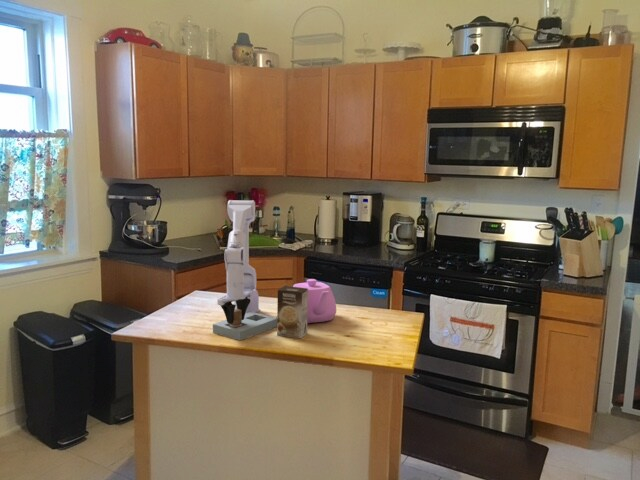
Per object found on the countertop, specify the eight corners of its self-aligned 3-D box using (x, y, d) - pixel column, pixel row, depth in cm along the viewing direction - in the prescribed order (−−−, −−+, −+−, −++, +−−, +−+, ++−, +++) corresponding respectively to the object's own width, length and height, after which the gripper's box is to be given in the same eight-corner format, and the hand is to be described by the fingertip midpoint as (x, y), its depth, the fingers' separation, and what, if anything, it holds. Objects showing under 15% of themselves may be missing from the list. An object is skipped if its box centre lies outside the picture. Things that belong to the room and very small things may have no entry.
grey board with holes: (251, 319, 197) (251, 311, 197) (277, 326, 190) (277, 318, 189) (212, 332, 182) (212, 324, 182) (240, 340, 174) (239, 331, 174)
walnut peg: (236, 330, 185) (235, 308, 183) (244, 333, 182) (244, 310, 181) (227, 333, 182) (227, 310, 180) (235, 336, 179) (235, 313, 178)
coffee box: (276, 335, 180) (276, 289, 177) (283, 330, 186) (283, 285, 183) (301, 339, 177) (301, 292, 174) (308, 333, 183) (308, 287, 180)
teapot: (273, 316, 202) (273, 277, 199) (323, 310, 210) (324, 273, 208) (293, 334, 181) (293, 291, 179) (349, 327, 189) (349, 286, 187)
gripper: (227, 288, 171) (228, 328, 173) (258, 280, 182) (258, 318, 185) (212, 285, 175) (213, 324, 177) (243, 277, 187) (244, 314, 189)
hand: (235, 321), depth 181 cm, fingers open, 5 cm apart
